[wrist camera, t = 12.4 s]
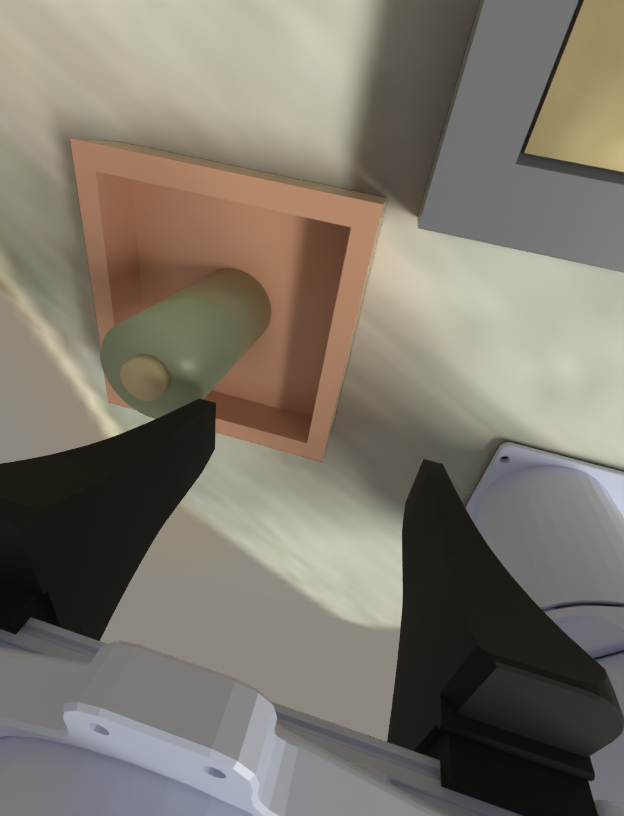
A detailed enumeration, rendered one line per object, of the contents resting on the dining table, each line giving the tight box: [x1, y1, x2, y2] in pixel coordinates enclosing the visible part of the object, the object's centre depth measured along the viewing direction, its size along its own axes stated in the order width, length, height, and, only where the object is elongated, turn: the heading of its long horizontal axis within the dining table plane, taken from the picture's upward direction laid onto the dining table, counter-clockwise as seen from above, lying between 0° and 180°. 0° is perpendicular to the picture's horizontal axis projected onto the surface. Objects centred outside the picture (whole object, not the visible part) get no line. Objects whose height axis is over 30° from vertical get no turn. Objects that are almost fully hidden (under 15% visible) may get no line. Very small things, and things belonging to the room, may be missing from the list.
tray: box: [70, 138, 388, 462], centre depth 20 cm, size 13×13×3 cm
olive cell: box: [100, 268, 271, 419], centre depth 17 cm, size 4×4×9 cm
